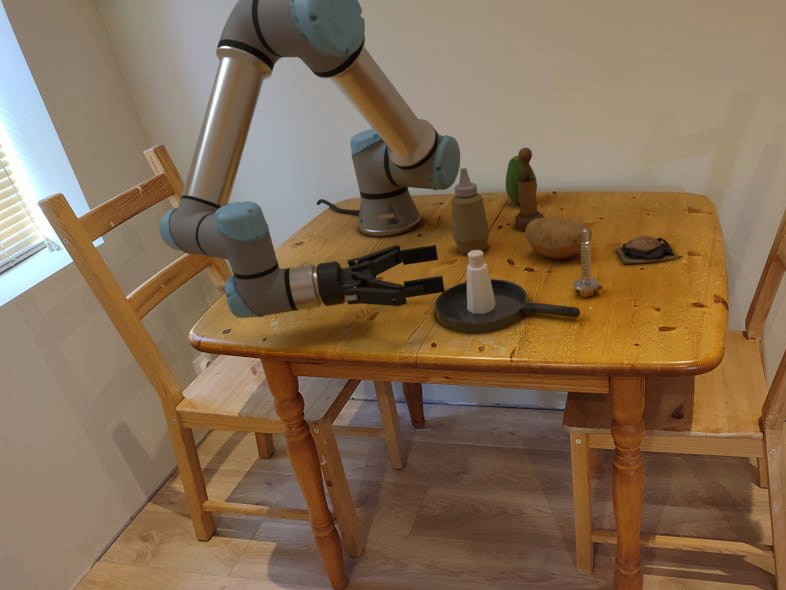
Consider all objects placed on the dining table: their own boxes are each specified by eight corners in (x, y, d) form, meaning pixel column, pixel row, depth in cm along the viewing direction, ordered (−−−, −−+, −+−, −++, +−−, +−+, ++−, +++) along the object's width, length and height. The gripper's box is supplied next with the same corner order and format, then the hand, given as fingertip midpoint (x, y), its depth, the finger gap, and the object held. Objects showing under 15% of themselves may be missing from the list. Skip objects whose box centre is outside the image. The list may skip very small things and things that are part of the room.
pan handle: (519, 313, 116) (518, 304, 115) (523, 307, 118) (523, 299, 117) (578, 320, 112) (578, 311, 111) (581, 314, 114) (581, 305, 113)
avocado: (508, 198, 170) (505, 152, 163) (538, 197, 168) (536, 150, 162) (505, 209, 163) (501, 162, 157) (536, 208, 162) (534, 160, 155)
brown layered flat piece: (623, 266, 130) (623, 249, 128) (615, 249, 137) (615, 233, 135) (677, 261, 129) (678, 243, 127) (666, 244, 136) (667, 227, 134)
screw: (574, 300, 120) (572, 288, 124) (601, 298, 119) (597, 286, 123) (572, 234, 113) (570, 224, 117) (601, 232, 112) (597, 221, 116)
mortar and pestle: (511, 230, 151) (505, 152, 141) (520, 220, 156) (515, 144, 146) (539, 232, 149) (534, 152, 139) (547, 221, 154) (543, 144, 144)
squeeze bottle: (496, 243, 146) (489, 163, 136) (481, 258, 140) (472, 175, 130) (464, 240, 149) (454, 162, 139) (448, 255, 143) (437, 174, 133)
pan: (420, 326, 118) (418, 316, 116) (459, 284, 130) (458, 275, 129) (508, 338, 111) (507, 328, 110) (540, 293, 124) (540, 283, 123)
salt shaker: (486, 317, 117) (480, 260, 111) (461, 311, 120) (454, 256, 114) (501, 303, 121) (496, 248, 115) (477, 298, 124) (470, 244, 118)
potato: (584, 269, 130) (583, 232, 126) (519, 262, 136) (516, 226, 132) (599, 250, 137) (598, 214, 133) (537, 244, 143) (535, 209, 139)
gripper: (328, 275, 126) (437, 258, 128) (319, 339, 105) (449, 319, 107) (319, 238, 122) (431, 222, 124) (308, 298, 101) (443, 277, 103)
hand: (440, 267), depth 115 cm, fingers open, 13 cm apart
